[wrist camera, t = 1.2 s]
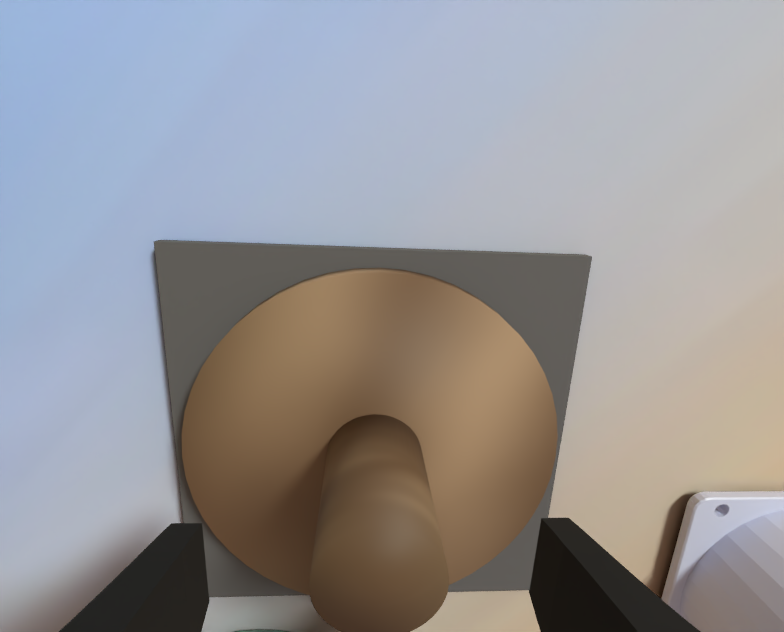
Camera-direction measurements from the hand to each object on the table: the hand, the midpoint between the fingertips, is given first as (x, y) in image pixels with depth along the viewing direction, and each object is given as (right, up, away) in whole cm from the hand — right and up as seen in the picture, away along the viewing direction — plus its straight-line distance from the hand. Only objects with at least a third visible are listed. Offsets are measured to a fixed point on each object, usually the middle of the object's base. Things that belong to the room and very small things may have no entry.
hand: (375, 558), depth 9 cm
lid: (0, +1, +4) cm, 5 cm away
